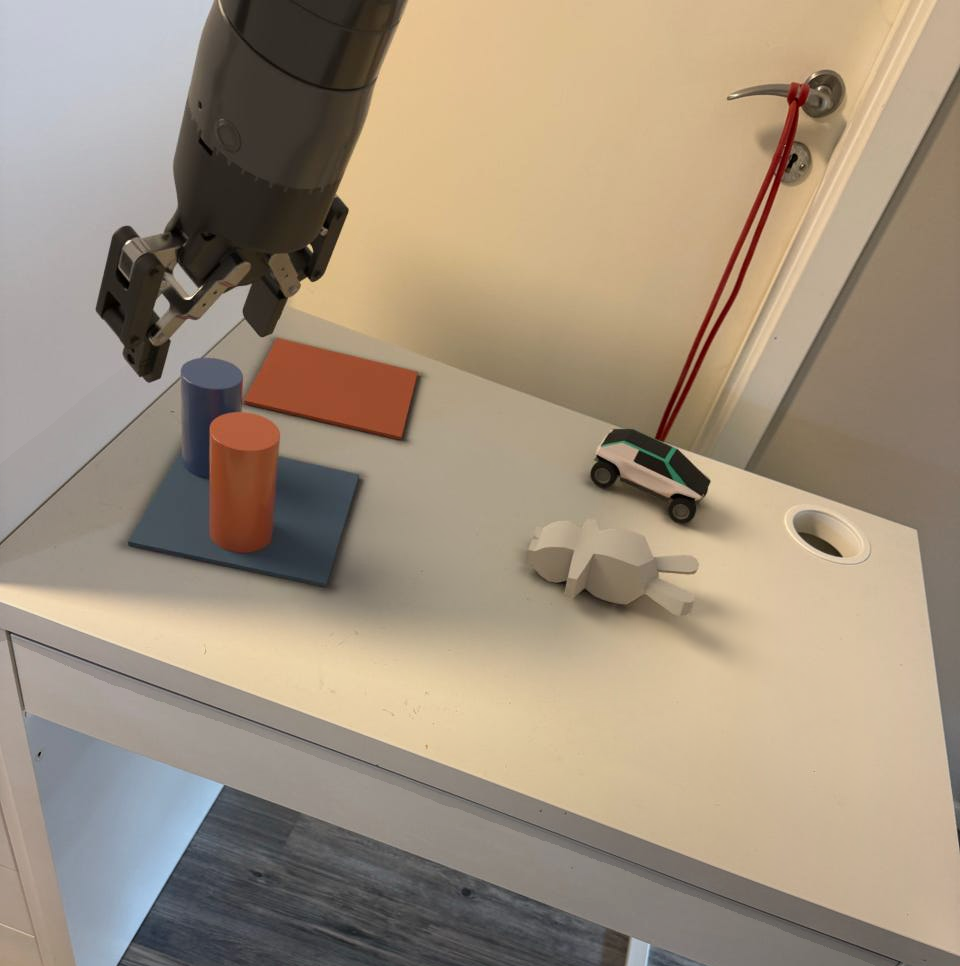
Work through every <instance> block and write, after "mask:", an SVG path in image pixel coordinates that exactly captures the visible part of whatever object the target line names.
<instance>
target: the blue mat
mask: <svg viewBox="0 0 960 966" xmlns="http://www.w3.org/2000/svg"><path fill="white" fill-rule="evenodd" d="M359 478H360V474H359V473H354V472H351V471H345V470H343V469H338V468H333V467H329V466H323V465H319V464H315V463H310V462H306V461H302V460H298V459H293V458H289V457H284V456H280V455H279V459H278V473H277V487H276V501H275V515H274V529H273V538H272V540H271V542H270V543H269V544H268V545H267V546H266V547H265V548H263V549H261V550H258V551H255V552H249V553H238V552H232V551H228V550H226V549H223V548H221V547H220V546H218V545H217V544H215V543H214V542H213V540H212V539H211V537H210V535H209V478H203V477H199V476H196V475H194V474H192V473H191V472H189V471H188V470H187V469H186V468H185V467H184V465H183V462H182V448H181V449H180V451H179V453H178V454H177V456H176V458H175V459H174V461H173V463H172V464H171V466H170V468H169V470H168V472H167V473H166V475H165V476H164V479H163V480H162V482H161V484H160V486H159V487H158V488H157V490H156V492H155V494H154V496H153V497H152V499H151V501H150V503H149V504H148V505H147V508H146V510H145V511H144V513H143V515H142V517H141V518H140V519H139V521H138V523H137V525H136V527H135V529H134V530H133V532H132V534H131V535H130V537H129V538H128V540H127V545H128V546H131V547H136V548H141V549H145V550H151V551H154V552H160V553H164V554H169V555H173V556H178V557H183V558H187V559H192V560H197V561H203V562H206V563H211V564H216V565H221V566H225V567H230V568H234V569H239V570H244V571H248V572H254V573H259V574H262V575H268V576H272V577H277V578H282V579H286V580H292V581H296V582H300V583H306V584H310V585H314V586H319V587H325V588H326V587H327V586H328V582H329V578H330V575H331V572H332V568H333V565H334V561H335V558H336V555H337V551H338V548H339V546H340V542H341V538H342V535H343V532H344V528H345V525H346V521H347V519H348V515H349V513H350V508H351V506H352V501H353V498H354V494H355V492H356V488H357V485H358V482H359Z"/></svg>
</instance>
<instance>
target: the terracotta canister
mask: <svg viewBox="0 0 960 966" xmlns="http://www.w3.org/2000/svg"><path fill="white" fill-rule="evenodd" d="M280 442H281V432H280V428H279V427H278V426H277V424H275V423H274V422H273V421H272V420H270V419H269V418H267V417H265V416H262V415H259V414H256V413H253V412H252V413H251V412H246V411H245V412H244V411H242V412H233V413H227V414H224V415H221V416H219V417H217V418H216V419H214V420H213V421H212V423H211V425H210V437H209V535H210V537H211V539H212V540H213V542H214V543H215V544H217V545H218V546H220V547H221V548H223V549H226V550H228V551H232V552H238V553H249V552H255V551H258V550H261V549H263V548H265V547H266V546H267V545H268V544H269V543H270V542H271V540H272V538H273V529H274V515H275V501H276V487H277V473H278V459H279V456H280V444H281V443H280Z"/></svg>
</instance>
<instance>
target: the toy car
mask: <svg viewBox="0 0 960 966" xmlns="http://www.w3.org/2000/svg"><path fill="white" fill-rule="evenodd" d="M594 454H595V455H594V459H593V461H595V463H594V464H593V465H592V466H591V469H590V479H591V481H592V482H593V484H595V485H596V486H597V487H600V488H609V487H612V486H613V485H614V484H615V483H616V481H617V479H618V477H619V482H622V484H623V483H624V484H626V485H628V486H630V487H631V488H632V487H633V488H634V489H636V490H639V491H642V492H644V493H646V494H648V495H650V496H652V497H655V498H657V499H659V500H661V501H663V502H665V503H668V502H669V504H668V506H667V513H668V516H669V518H670V519H671V520H672V521H673V522H675V523H677V524H687V523H689V522H691V521H692V520H693V519H694V518H695V516H696V514H697V509H698V507H697V505H699V504H700V503H701V501H702V500H703V499H704V498H706V496H707V494H708V492H709V486H711V485H710V484H711V482H712V481H711V477H710V476H708V475H707V474H706V473H704V472H703V471H702V470H700V469H699V468H698V467H697V466H696V465H695V464H694V463H693V462H692V461H691V460H690V459H689V458H688V457H687V456H686V455H685V454H684V453H683V452H682V451H680V450H679V449H678V448H677V447H674V446H672V445H669V444H668V443H666V442H663V441H660V440H659V439H656V438H654V437H653V436H650V435H647V434H645V433H643V432H641V431H639V430H637V429H635V428H612V429H609V431H608V433H607V434H606V435H605V436H604V438H603V440H602V441H601V443H600V444H599V445H596V448H595V451H594ZM670 500H671V501H670Z"/></svg>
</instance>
